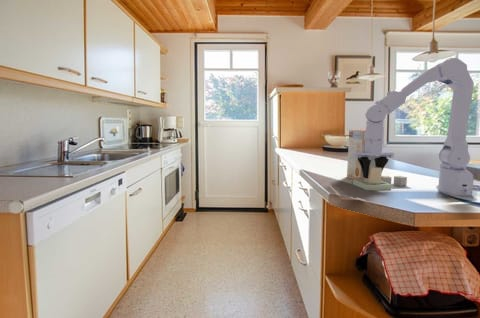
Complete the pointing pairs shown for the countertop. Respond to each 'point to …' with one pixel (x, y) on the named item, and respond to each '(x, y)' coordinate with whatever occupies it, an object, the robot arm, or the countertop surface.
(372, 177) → the sandstone block
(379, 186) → the sage tray
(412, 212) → the countertop surface
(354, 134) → the cracker box
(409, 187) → the slate board
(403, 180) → the grey pebble
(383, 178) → the grey pebble
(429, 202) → the countertop surface
